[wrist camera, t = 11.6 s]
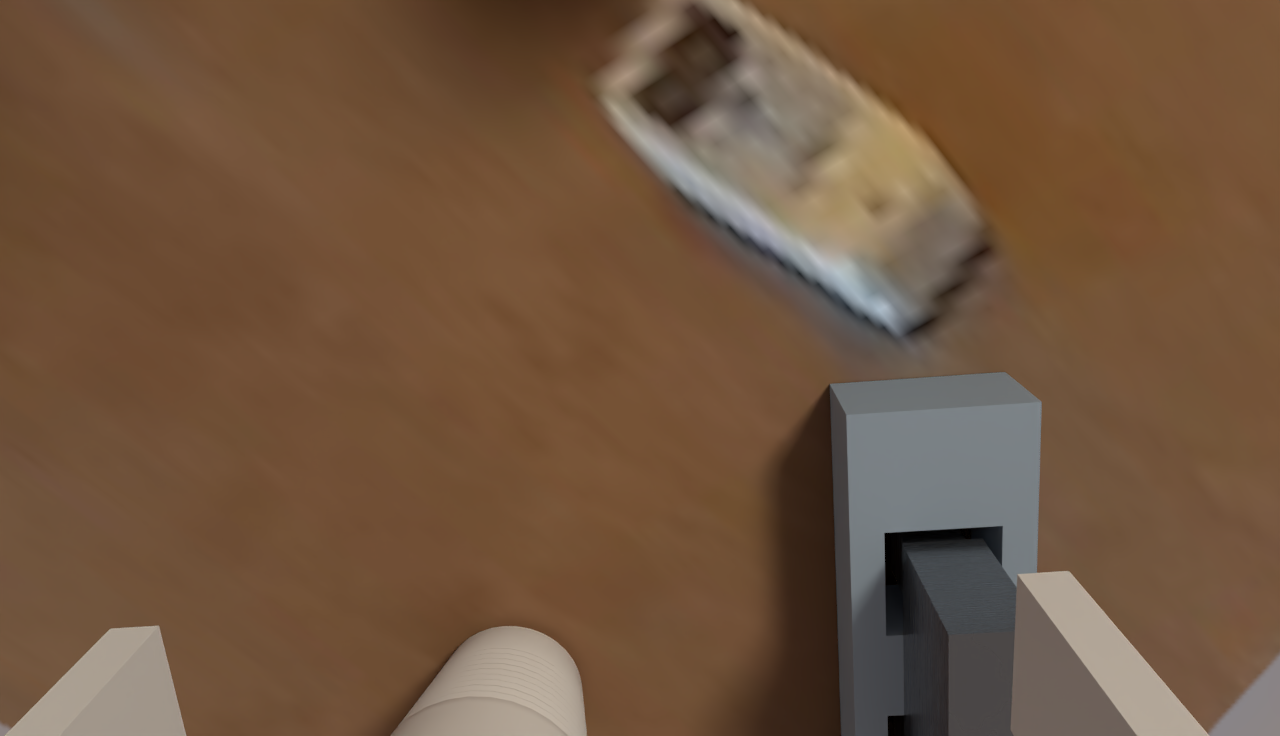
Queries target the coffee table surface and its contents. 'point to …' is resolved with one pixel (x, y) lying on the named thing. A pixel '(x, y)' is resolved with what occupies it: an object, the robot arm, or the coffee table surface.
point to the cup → (502, 690)
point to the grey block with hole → (921, 506)
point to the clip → (954, 635)
